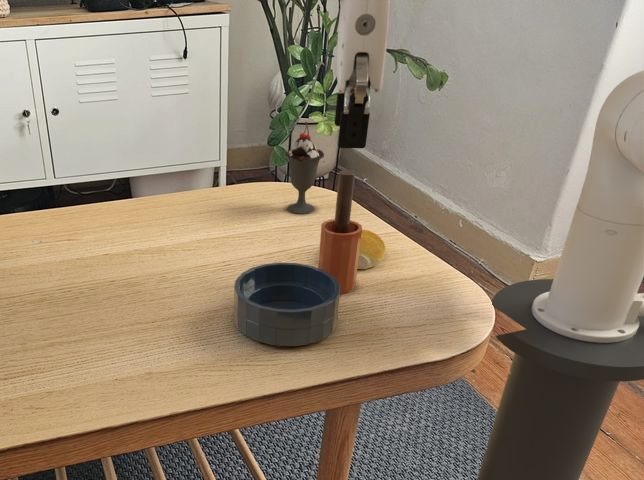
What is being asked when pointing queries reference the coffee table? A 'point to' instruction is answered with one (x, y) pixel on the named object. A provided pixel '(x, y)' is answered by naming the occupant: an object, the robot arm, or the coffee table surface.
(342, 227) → the stirring stick
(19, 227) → the coffee table surface
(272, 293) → the bowl
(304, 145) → the sundae
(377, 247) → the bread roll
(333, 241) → the crock
